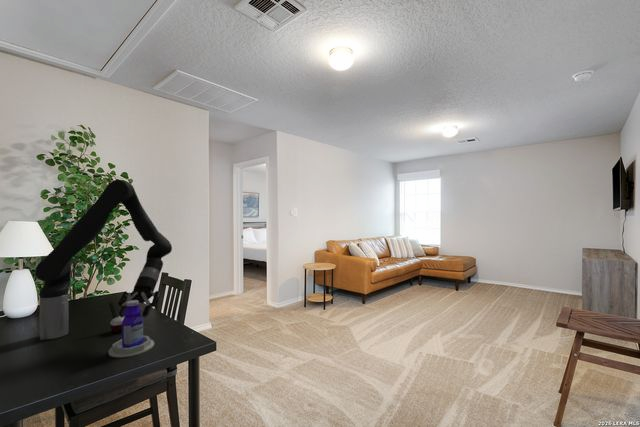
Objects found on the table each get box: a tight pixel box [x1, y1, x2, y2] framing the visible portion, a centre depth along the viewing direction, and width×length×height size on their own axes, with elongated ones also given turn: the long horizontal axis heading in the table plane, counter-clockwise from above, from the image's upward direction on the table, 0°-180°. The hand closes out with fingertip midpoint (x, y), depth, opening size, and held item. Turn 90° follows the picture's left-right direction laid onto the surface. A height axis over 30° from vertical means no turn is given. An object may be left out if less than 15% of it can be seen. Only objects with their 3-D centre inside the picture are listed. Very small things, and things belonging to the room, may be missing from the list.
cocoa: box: [108, 302, 125, 334], centre depth 135 cm, size 10×6×12 cm, turn 51°
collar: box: [107, 335, 155, 358], centre depth 118 cm, size 15×15×2 cm
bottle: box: [121, 300, 144, 348], centre depth 118 cm, size 7×6×17 cm
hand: (132, 316), depth 118 cm, fingers open, 8 cm apart
